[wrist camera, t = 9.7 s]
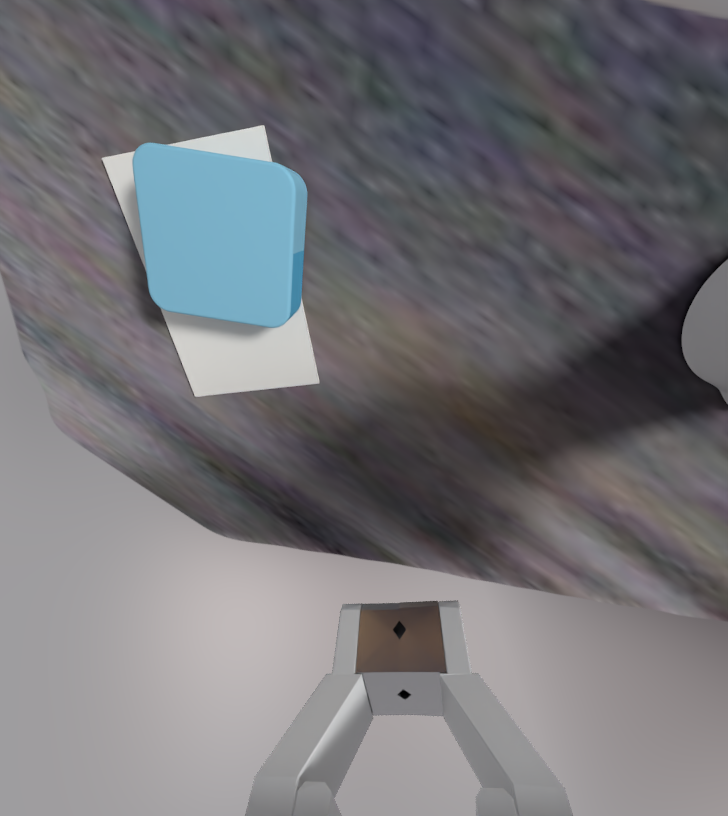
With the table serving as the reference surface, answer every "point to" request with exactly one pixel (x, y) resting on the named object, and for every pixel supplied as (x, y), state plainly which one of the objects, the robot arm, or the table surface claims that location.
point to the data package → (221, 234)
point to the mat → (217, 339)
